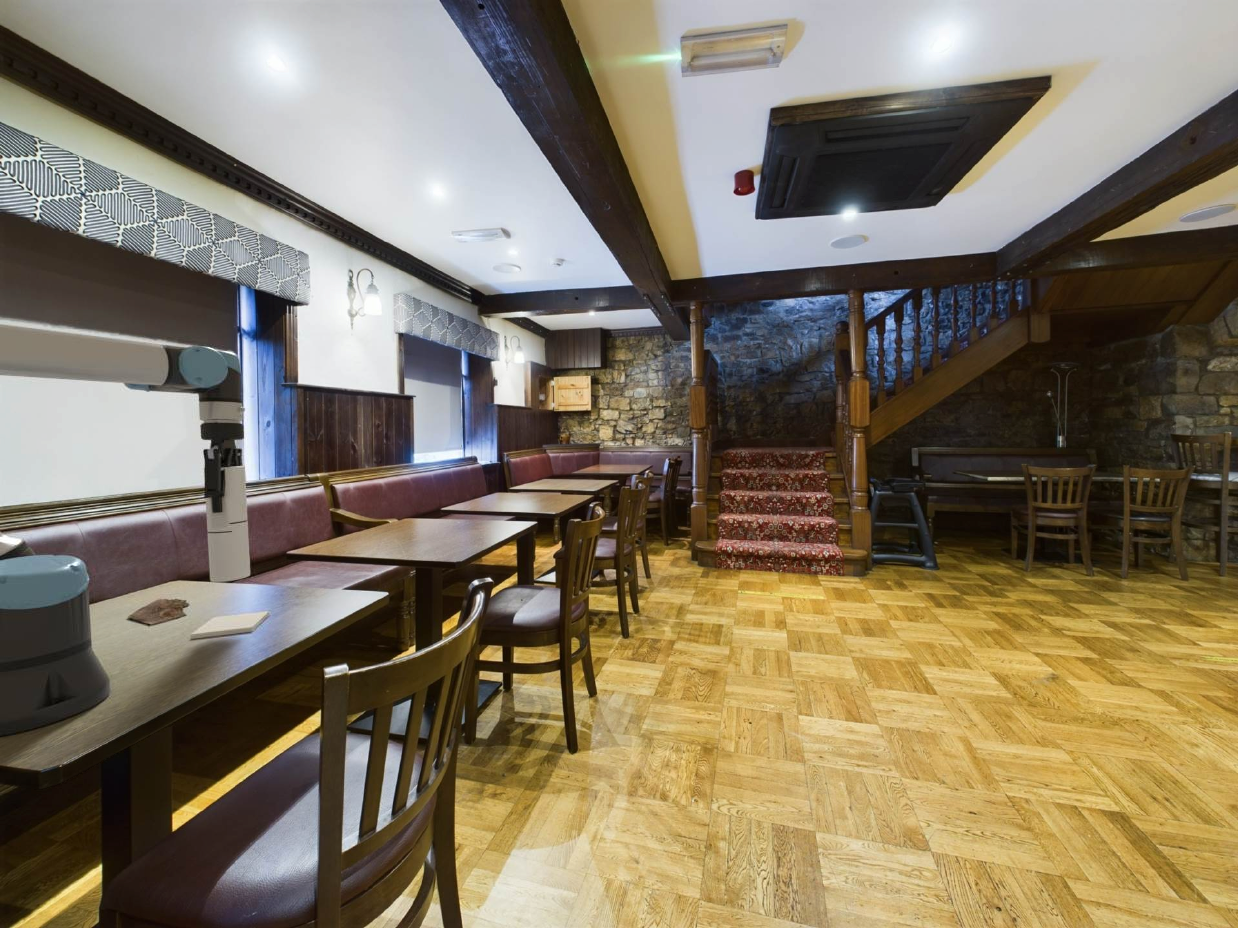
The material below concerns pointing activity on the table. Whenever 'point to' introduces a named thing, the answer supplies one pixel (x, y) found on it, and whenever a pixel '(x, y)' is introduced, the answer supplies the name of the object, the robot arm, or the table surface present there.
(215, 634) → the ceramic tile
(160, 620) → the brown relief tablet
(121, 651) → the table surface
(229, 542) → the cylindrical container
